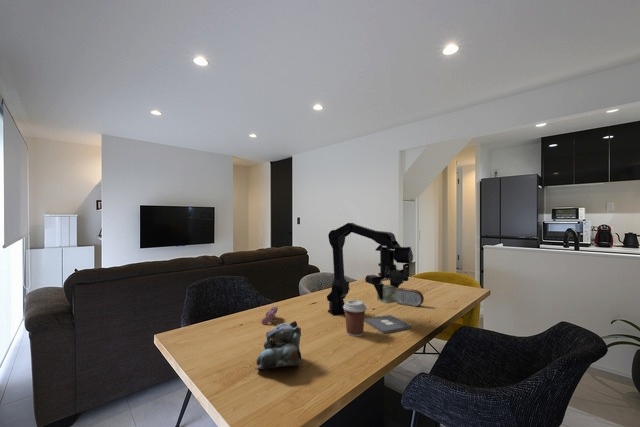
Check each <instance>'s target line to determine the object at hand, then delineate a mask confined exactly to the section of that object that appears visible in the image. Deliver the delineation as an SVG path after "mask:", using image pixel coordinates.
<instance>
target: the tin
mask: <svg viewBox="0 0 640 427" xmlns="http://www.w3.org/2000/svg"><path fill="white" fill-rule="evenodd" d="M424 300H425V299H424V295H423V293H422V292H421V291H419V290H418V289H413V288H406V287H398V302H396V303H397V304H399V305H404V306H409V307H414V308H417V307H420V306H421V305H422V304H423V303H424Z"/></svg>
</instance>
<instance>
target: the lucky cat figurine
mask: <svg viewBox="0 0 640 427" xmlns="http://www.w3.org/2000/svg"><path fill="white" fill-rule="evenodd" d="M301 331H302V328H301V327H300V326H298V322H297V321H296V320H294V321H292V322H290V323H288V322H287V323H286V322H285V323H284V322H283V323H277V324H276V325H275V326H274V327H273V328H272V329H271V330H270V329H269V330H268V331H266V332H265V336H266V339H265V340H264V342H263V347H264V348H263V350H262V351H261V352H260V353H259V354H258V356H257V358H256V361H255V364H256V365H257V367H255V368H254V369H255V370H258V371H260V370H263V369H273V368H279V367H296V366H297V367H300V366H302V365H303V362H302V353H301V351H300V342H301V336H302V332H301Z"/></svg>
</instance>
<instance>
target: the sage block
mask: <svg viewBox="0 0 640 427" xmlns="http://www.w3.org/2000/svg"><path fill="white" fill-rule="evenodd" d="M398 288H399V287H398ZM398 288H397V287H394V286H391V285H390V284H384V286H383V297H382V300H381V299H380V298H379V295H378V293H377V292H376V294H377V296H376V297H377V299H376V300H377V301H379V302H381V303H383V304H386V305H387V304H393V303H397V302H398Z"/></svg>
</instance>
